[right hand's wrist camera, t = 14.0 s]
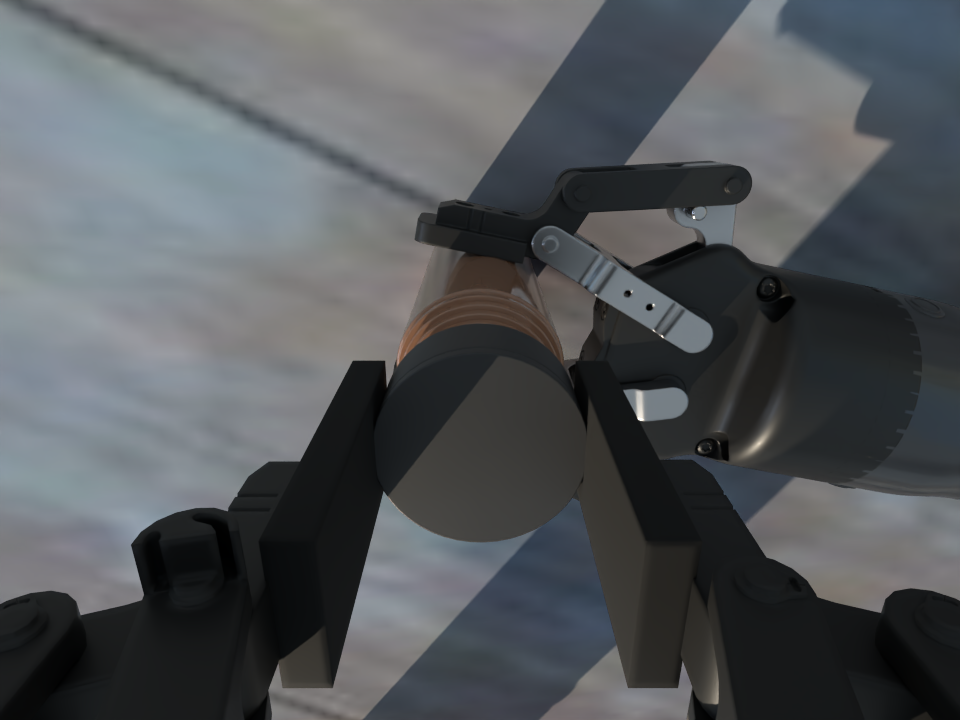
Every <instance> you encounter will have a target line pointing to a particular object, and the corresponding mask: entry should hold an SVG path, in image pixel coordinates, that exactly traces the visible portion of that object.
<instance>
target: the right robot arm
mask: <svg viewBox="0 0 960 720" xmlns="http://www.w3.org/2000/svg"><path fill="white" fill-rule="evenodd" d="M386 390H387V384H386V368H385V361H353V362H352V364H351V366H350V367H349V369H348V371H347V373H346V375H345V377H344V379H343V381H342V383H341V385H340V387H339V388H338V390H337V392H336V394H335V396H334V398H333V400H332V402H331V404H330V406H329V407H328V409H327V411H326V413H325V415H324V417H323V419H322V421H321V423H320V425H319V427H318V428H317V430H316V432H315V434H314V436H313V438H312V440H311V442H310V444H309V446H308V448H307V449H306V451H305V453H304V455H303V457H302V459H301V461H300V462H268V463H266V464H265V465H264V466H262V467H261V468H260V469H258V470H257V471H255V472H254V473H253V474H251V475H250V476H249V477H248V478H247V480H246V481H245V483H244V485H243V486H242V488H241V489H240V491H239V492H238V496H237V497H235V498H234V500H233V502H232V503H231V505H230V506H229V508H228V511H224V510H220V509H217V508H195V509H190V510H186V511H181V512H177V513H174V514H172V515H169V516H167V517H165V518H163V519H160V520H158V521H156V522H155V523H153V524H152V525H150V526H149V527H147V528H146V529H145V530H143V531H142V532H141V533H140V534H139V535H138V537H137V538H136V539H135V540H134V542H133V543H132V544H131V546H132V550H133V554H134V558H135V562H136V565H137V569H138V573H139V577H140V581H141V584H142V588H143V592H144V597H143V599H142V600H141V601H138V602H135V603H131V604H128V605H124V606H120V607H115V608H111V609H107V610H102V611H98V612H94V613H89V614H85V615H80V612H79V609H78V606H77V603H76V601H75V600H74V599H73V598H71V597H70V596H69V595H68V594H66V593H61V592H55V591H45V592H37V593H30V594H27V595H23V596H20V597H17V598H14V599H11V600H8V601H6V602H4V603H2V604H0V720H271V718H272V711H271V704H270V698H269V692H268V689H269V686H270V684H271V681H272V678H273V676H274V673H275V670H276V668H277V665H278V662H279V668H280V674H281V680H282V686H283V688H333V685H334V681H335V677H336V673H337V669H338V665H339V661H340V658H341V654H342V650H343V646H344V642H345V638H346V634H347V630H348V627H349V623H350V619H351V615H352V611H353V607H354V603H355V599H356V596H357V592H358V588H359V584H360V580H361V576H362V572H363V569H364V565H365V561H366V557H367V553H368V549H369V545H370V541H371V538H372V534H373V530H374V526H375V522H376V518H377V514H378V510H379V507H380V503H381V499H382V495H383V491H384V490H383V488H382V486H381V484H380V482H379V480H378V478H377V470H376V457H375V443H374V426H375V422H376V419H377V416H378V413H379V410H380V407H381V404H382V401H383V399H384V396H385V393H386ZM574 392H575V394H576V397H577V400H578V403H579V406H580V409H581V412H582V415H583V418H584V420H585V423H586V427H587V439H586V453H585V466H584V477H583V479H582V481H581V484H580V486H579V488H578V489H577V492H578V496H579V500H580V504H581V508H582V512H583V516H584V519H585V523H586V527H587V531H588V535H589V539H590V543H591V547H592V550H593V554H594V558H595V562H596V566H597V570H598V574H599V577H600V581H601V585H602V589H603V593H604V597H605V601H606V605H607V608H608V612H609V616H610V620H611V624H612V628H613V632H614V635H615V639H616V643H617V647H618V651H619V655H620V659H621V663H622V666H623V670H624V674H625V678H626V682H627V686H628V688H678V685H679V679H680V673H681V667H682V661H683V663H684V665H685V668H686V671H687V673H688V676H689V679H690V681H691V684H692V692H691V698H690V703H689V709H688V714H687V720H960V601H959V600H957V599H955V598H952V597H949V596H946V595H943V594H940V593H937V592H934V591H928V590H920V589H912V588H910V589H904V590H899V591H894V592H893V593H892V594H891V595H890V596H889V597H887V598H886V599H885V603H884V606H883V609H882V612H881V613H878V612H874V611H869V610H865V609H861V608H856V607H852V606H847V605H843V604H839V603H835V602H831V601H828V600H825V599H821V598H818V597H817V596H816V593H815V592H814V590H813V589H812V587H811V586H810V584H809V583H808V581H807V580H806V579H804V578H803V577H802V576H801V575H799V574H798V573H797V572H796V571H794V570H793V569H792V568H790V567H788V566H786V565H784V564H782V563H780V562H778V561H776V560H773V559H769V558H766V556H765V555H764V553H763V552H762V550H761V549H760V547H759V545H758V544H757V542H756V541H755V539H754V538H753V536H752V535H751V533H750V532H749V530H748V529H747V527H746V525H745V524H744V522H743V521H742V519H741V518H740V516H739V515H738V513H737V512H736V510H733V506H732V504H731V502H730V501H729V499H728V498H727V496H726V495H724V494H723V490H722V489H721V487H720V486H719V484H718V482H717V481H716V479H715V478H714V476H713V475H712V474H711V473H710V472H708V471H707V470H705V469H704V468H703V467H701V466H700V465H698V464H697V463H696V462H694V461H693V460H660V459H659V458H658V456H657V454H656V452H655V450H654V448H653V446H652V444H651V442H650V440H649V439H648V437H647V435H646V433H645V431H644V429H643V427H642V425H641V423H640V421H639V419H638V418H637V416H636V414H635V412H634V410H633V408H632V406H631V404H630V402H629V400H628V398H627V397H626V395H625V393H624V391H623V389H622V387H621V385H620V383H619V381H618V379H617V378H616V376H615V374H614V372H613V370H612V368H611V366H610V364H609V362H608V361H576V363H575V379H574Z"/></svg>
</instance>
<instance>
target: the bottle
mask: <svg viewBox="0 0 960 720" xmlns="http://www.w3.org/2000/svg"><path fill="white" fill-rule="evenodd" d="M477 323H478V324H495V325H500V326H505V327H509V328H512V329H516V330H518V331H520V332H523V333H525V334H527V335H529V336H531V337H533V338H534V339H536V340H538V341H539V342H540V343H542V344H543V345H544V346H545V347H547V348H548V349H549V350H550V351H551V352H552V353H553V354H554V355H555V356H556V357H557V358H558V360H559V361H560V362H561V364H562V365H563V367H564V357H563V352H562V347H561V344H560V341H559V338H558V336H557V333H556V330H555V327H554V324H553V322H552V319H551V316H550V313H549V310H548V308H547V305H546V302H545V299H544V296H543V294H542V291H541V288H540V285H539V282H538V280H537V277H536V274H535V271H534V268H533V266H532V263H531V260H530V258H529V257H524V261H523V264H520V263H515V262H510V261H505V260H501V259H498V258H493V257H486V256H481V255H476V254H471V253H466V252H462V251H457V250H452V249H447V248H442V247H437V246H435V248H434V250H433V253H432V255H431V258H430V261H429V264H428V267H427V269H426V272H425V275H424V278H423V281H422V283H421V286H420V289H419V292H418V295H417V298H416V300H415V303H414V306H413V309H412V312H411V314H410V317H409V320H408V323H407V326H406V328H405V331H404V334H403V337H402V340H401V343H400V346H399V350H398V355H397V366H398V365H399V363H400V362H401V361H402V359H403V358H404V357H405V356H406V355H407V353H408V352H410V351H411V350H412V349H413V348H414V347H415V346H416V345H417V344H419V343H420V342H422V341H423V340H425V339H426V338H428V337H430V336H432V335H434V334H436V333H438V332H440V331H443V330H446V329H448V328H451V327H456V326H460V325H466V324H477Z"/></svg>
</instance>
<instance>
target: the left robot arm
mask: <svg viewBox="0 0 960 720" xmlns="http://www.w3.org/2000/svg"><path fill="white" fill-rule="evenodd" d="M751 187H752V178H751V175H750V173H749V172H748V171H747V170H746V169H745V168H743V167H740V166H735V165H731V164H726V163H720V162H713V161H697V162H678V163H660V164H641V165H622V166H603V167H585V168H570V169H566V170H564V171H563V172H561V173H560V175H559V176H558V177H557V179H556V182H555V188H554V189H553V191H552V192H551V194H550V195H549V197H548V198H547V200H546V202H545V203H544V204H543V206H542V207H541V208H539V209H538V210H537V211H535V212H532V213H528V214H523V213H517V212H512V211H508V210H503V209H498V208H494V207H489V206H483V205H479V204H475V203H470V202H465V201H460V200H451V201H445V202H441V203H440V205H439V207H438V212H437V214H432V213H421V215H420V216H419V218H418V222H417V228H416V234H415V240H416V241H418V242H420V243H423V244H427V245H432V246H437V247H442V248H447V249H452V250H457V251H462V252H466V253H471V254H476V255H481V256H486V257H493V258H498V259H501V260H505V261H510V262H515V263H520V264H523V261H524V257H529V258H534V259H539V260H541V261H543V262H544V263H546V264H548V265H549V266H551V267H553V268H554V269H556V270H558V271H559V272H561V273H562V274H564V275H566V276H567V277H569V278H571V279H572V280H574V281H576V282H577V283H579V284H580V285H582V286H583V287H584V288H586V289H587V290H588V291H589V292H591V293H592V294H593V295H595V296H596V301H595V304H594V313H593V329H592V331H591V333H590V334H589V336H588V338H587V339H586V341H585V343H584V344H583V346H582V350H581V353H580V357H579V359H571V360H564V368H565V370H566V372H567V374H568V376H569V378H570V380H571V383H572V386H573V389H574V379H575V363H576V361H608V362H609V364H610V366H611V368H612V370H613V372H614V374H615V376H616V378H617V379H618V381H619V383H620V385H621V387H622V389H623V391H624V393H625V395H626V397H627V398H628V400H629V402H630V404H631V406H632V408H633V410H634V412H635V414H636V416H637V418H638V419H639V421H640V423H641V425H642V427H643V429H644V431H645V433H646V435H647V437H648V439H649V440H650V442H651V444H652V446H653V448H654V450H655V452H656V454H657V456H658V458H659V459H660V460H664V459H669V458H673V457H676V456H681V455H699V456H703V457H706V458H709V459H712V460H715V461H718V462H721V463H725V464H729V465H734V466H739V467H745V468H750V469H756V470H761V471H767V472H772V473H777V474H783V475H788V476H794V477H799V478H805V479H811V480H816V481H821V482H827V483H829V484H832V485H835V486H838V487H842V488H860V489H865V490H871V491H876V492H882V493H888V494H895V495H907V496H935V497H944V498H952V499H957V500H960V308H957V307H954V306H951V305H949V304H946V303H942V302H938V301H934V300H930V299H925V298H920V297H915V296H910V295H906V294H901V293H896V292H891V291H886V290H882V289H877V288H873V287H868V286H863V285H858V284H854V283H849V282H844V281H839V280H835V279H830V278H825V277H820V276H816V275H811V274H806V273H801V272H797V271H792V270H787V269H782V268H777V267H773V266H768V265H763V264H759V263H755V262H752V261H751V260H749V259H748V258H747V257H746V256H745V255H744V254H743V253H742V252H741V251H740V250H739V249H737V248H736V247H734V246H732V243H733V233H734V224H735V214H736V205H737V204H738V203H740V202H741V201H743V200H744V199H745V198H746V197H747V196H748V194H749V193H750V190H751ZM665 208H667V214H668V216H669V217H670V219H671V220H672V221H674V222H676V223H678V224H680V225H681V226H683V227H686V228H693V229H694V231H695V232H696V235H697V241H695V242H693V243H690V244H688V245H686V246H683V247H681V248H678V249H676V250H674V251H671V252H669V253H667V254H664V255H662V256H660V257H657V258H655V259H653V260H650V261H648V262H646V263H643V264H641V265H639V266H636V267H632V266H631V265H629V264H628V263H626V262H624V261H623V260H621V259H620V258H618V257H616V256H615V255H613V254H612V253H610V252H608V251H607V250H605V249H604V248H602V247H600V246H599V245H597V244H595V243H594V242H591V241H589V240H588V239H586V238H584V237H583V236H581V235H579V234H578V233H576V231H577V230H578V228H579V227H580V225H581V224H582V222H583V221H584V219H585V218H586V216H587V215H588V213H589V212H608V211H627V210H646V209H665ZM396 368H397V360H396V362H395V365H394V371H395V369H396ZM394 371H393V373H394ZM573 498H574V499H576V500H579V496H578V492H577V491H576V493H575V494H574V496H573ZM579 501H580V500H579Z"/></svg>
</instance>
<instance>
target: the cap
mask: <svg viewBox="0 0 960 720" xmlns="http://www.w3.org/2000/svg"><path fill="white" fill-rule="evenodd" d="M586 439H587V427H586V423H585V420H584V418H583V415H582V412H581V409H580V406H579V403H578V400H577V397H576V394H575V392H574V389H573V386H572V383H571V380H570V378H569V376H568V374H567V372H566V370H565V368H564V367H563V365H562V364H561V362H560V361H559V360H558V358H557V357H556V356H555V355H554V354H553V353H552V352H551V351H550V350H549V349H548V348H547V347H545V346H544V345H543V344H542V343H540V342H539V341H538V340H536V339H534V338H533V337H531V336H529V335H527V334H525V333H523V332H520V331H518V330H516V329H512V328H509V327H505V326H500V325H495V324H478V323H477V324H466V325H460V326H456V327H451V328H448V329H446V330H443V331H440V332H438V333H436V334H434V335H432V336H430V337H428V338H426V339H425V340H423V341H422V342H420V343H419V344H417V345H416V346H415V347H414V348H413V349H412V350H411V351H410V352H408V353H407V355H406V356H405V357H404V358H403V359H402V361H401V362H400V363H399V365H398V366H397V368H396V369H395V371H394V373H393V375H392V377H391V379H390V382H389V384H388V387H387V390H386V393H385V396H384V399H383V401H382V404H381V407H380V410H379V413H378V416H377V419H376V422H375V426H374V443H375V457H376V470H377V478H378V480H379V482H380V484H381V486H382V488H383V490H384V492H385V493H386V495H387V496H388V498H389V499H390V501H391V502H392V503H393V504H394V505H395V506H396V507H397V509H398V510H399V511H400V512H401V513H403V514H404V515H405V516H406V517H407V518H408V519H410V520H411V521H413V522H414V523H416V524H417V525H419V526H420V527H422V528H424V529H426V530H428V531H430V532H432V533H435V534H438V535H440V536H443V537H446V538H450V539H454V540H460V541H467V542H494V541H501V540H506V539H511V538H514V537H517V536H521V535H523V534H526V533H528V532H530V531H533V530H535V529H537V528H538V527H540V526H542V525H544V524H545V523H547V522H548V521H549V520H551V519H552V518H553V517H555V516H556V515H557V514H558V513H559V512H560V511H561V510H562V509H563V508H564V507H565V506H566V505H567V504H568V502H569V501H570V500H571V499H572V498H573V496H574V494H575V493H576V491H577V489H578V488H579V486H580V484H581V481H582V479H583V477H584V466H585V453H586Z"/></svg>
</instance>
